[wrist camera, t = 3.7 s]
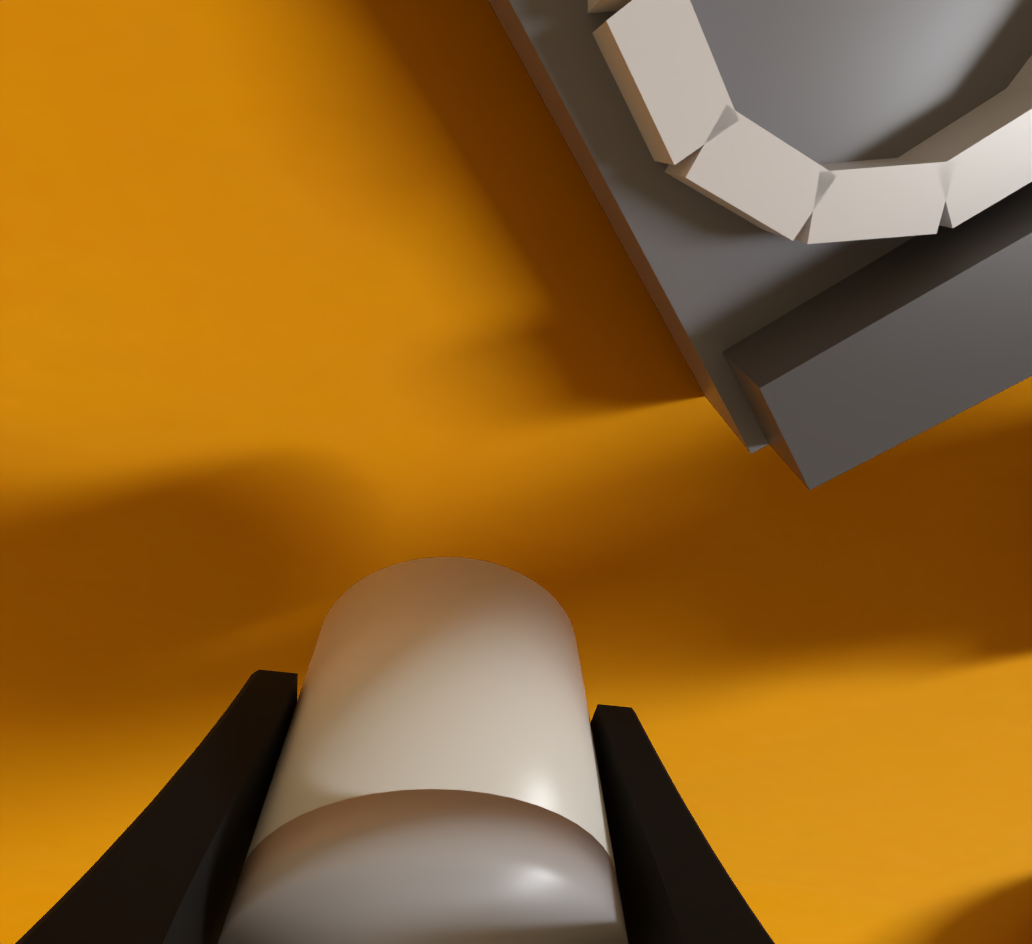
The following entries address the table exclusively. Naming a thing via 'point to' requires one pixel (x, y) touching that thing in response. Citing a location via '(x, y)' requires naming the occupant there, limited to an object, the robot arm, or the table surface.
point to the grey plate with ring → (811, 199)
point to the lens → (435, 775)
